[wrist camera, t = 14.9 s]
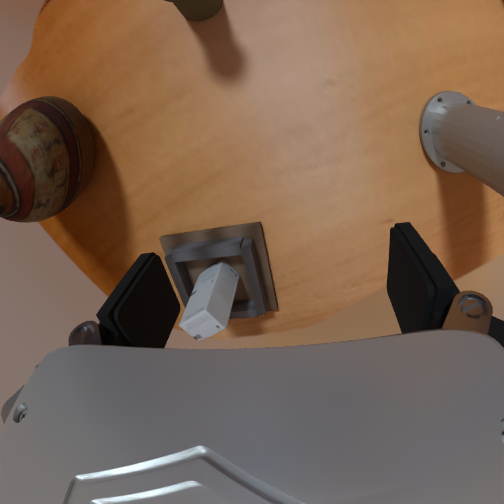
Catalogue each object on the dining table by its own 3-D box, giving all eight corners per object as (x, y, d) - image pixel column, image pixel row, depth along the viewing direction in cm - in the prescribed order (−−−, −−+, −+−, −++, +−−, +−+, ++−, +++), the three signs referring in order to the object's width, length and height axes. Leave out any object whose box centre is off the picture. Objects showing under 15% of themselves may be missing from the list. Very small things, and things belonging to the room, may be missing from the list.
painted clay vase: (79, 217, 47) (-29, 321, 22) (20, 159, 41) (-91, 228, 16) (125, 134, 38) (-41, 219, 13) (53, 74, 33) (-94, 113, 7)
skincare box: (223, 257, 46) (204, 307, 36) (241, 275, 48) (228, 328, 38) (197, 274, 49) (175, 324, 39) (215, 292, 50) (198, 343, 40)
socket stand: (260, 221, 44) (258, 234, 40) (277, 306, 52) (276, 321, 48) (161, 236, 47) (152, 248, 44) (191, 311, 55) (185, 325, 52)
